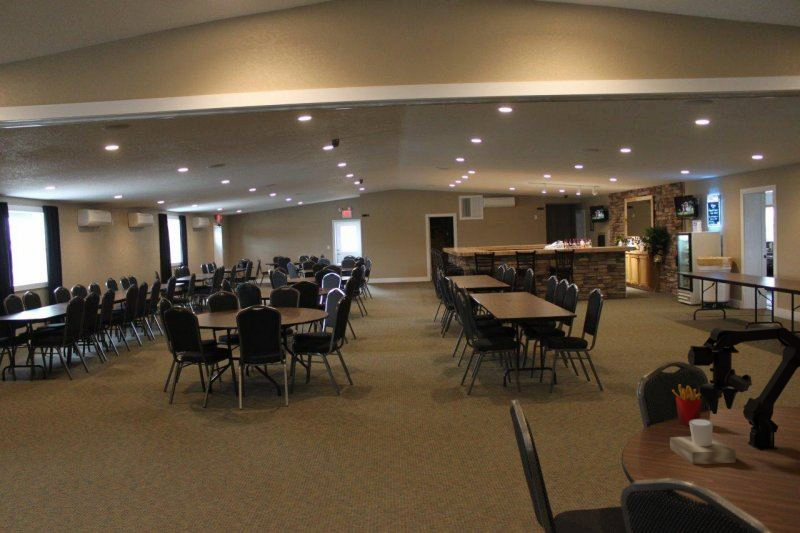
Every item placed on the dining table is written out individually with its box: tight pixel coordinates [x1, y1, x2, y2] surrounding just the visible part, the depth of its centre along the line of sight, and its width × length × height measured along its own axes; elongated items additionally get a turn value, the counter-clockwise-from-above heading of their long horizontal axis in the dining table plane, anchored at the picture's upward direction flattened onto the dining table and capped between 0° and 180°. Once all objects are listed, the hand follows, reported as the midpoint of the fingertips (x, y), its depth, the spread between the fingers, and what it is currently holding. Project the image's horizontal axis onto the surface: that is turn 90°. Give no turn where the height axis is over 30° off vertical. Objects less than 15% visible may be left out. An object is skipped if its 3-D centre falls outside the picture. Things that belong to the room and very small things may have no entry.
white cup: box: [689, 418, 714, 446], centre depth 197 cm, size 7×7×7 cm
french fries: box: [671, 384, 703, 428], centre depth 228 cm, size 9×8×15 cm
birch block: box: [669, 435, 737, 465], centre depth 197 cm, size 14×14×4 cm
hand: (722, 411), depth 204 cm, fingers open, 9 cm apart
